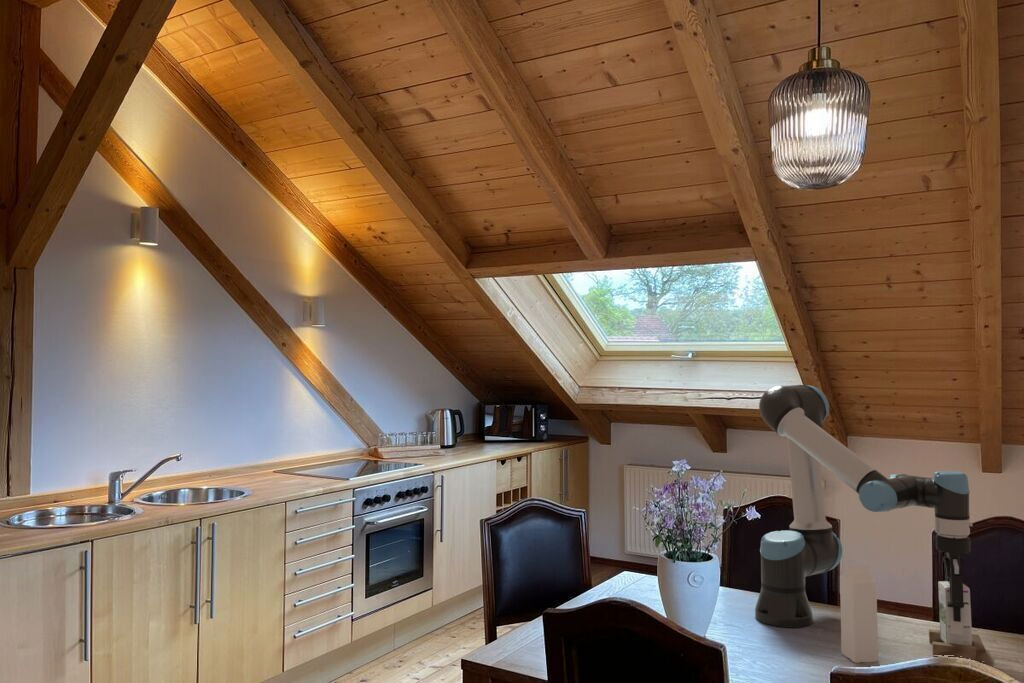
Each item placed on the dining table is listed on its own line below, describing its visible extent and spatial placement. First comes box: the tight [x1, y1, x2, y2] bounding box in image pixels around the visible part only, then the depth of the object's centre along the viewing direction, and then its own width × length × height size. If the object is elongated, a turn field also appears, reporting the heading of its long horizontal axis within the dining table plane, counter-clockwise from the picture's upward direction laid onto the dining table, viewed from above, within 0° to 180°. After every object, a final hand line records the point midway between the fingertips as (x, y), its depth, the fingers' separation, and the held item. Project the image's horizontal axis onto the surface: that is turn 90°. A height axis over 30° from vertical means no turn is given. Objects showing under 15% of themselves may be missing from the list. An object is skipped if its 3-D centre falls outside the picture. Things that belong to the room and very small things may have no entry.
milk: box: [839, 564, 879, 664], centre depth 189 cm, size 6×6×22 cm
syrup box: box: [937, 580, 973, 646], centre depth 193 cm, size 6×6×14 cm
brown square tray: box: [928, 628, 987, 664], centre depth 193 cm, size 11×12×3 cm
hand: (955, 629), depth 193 cm, fingers closed on syrup box, 6 cm apart
